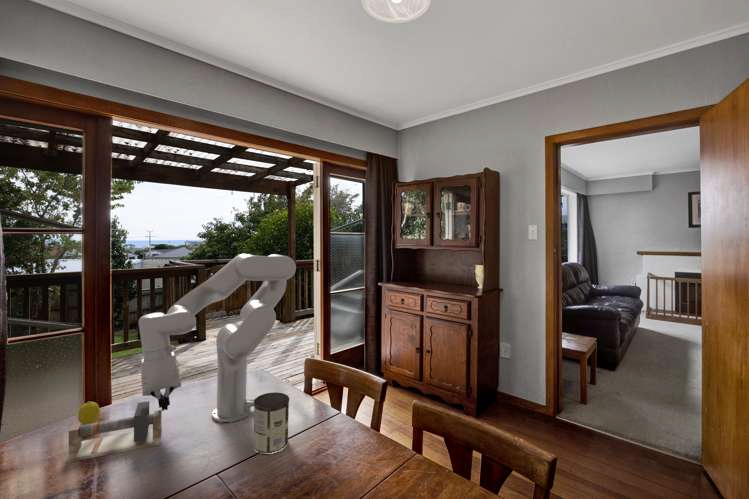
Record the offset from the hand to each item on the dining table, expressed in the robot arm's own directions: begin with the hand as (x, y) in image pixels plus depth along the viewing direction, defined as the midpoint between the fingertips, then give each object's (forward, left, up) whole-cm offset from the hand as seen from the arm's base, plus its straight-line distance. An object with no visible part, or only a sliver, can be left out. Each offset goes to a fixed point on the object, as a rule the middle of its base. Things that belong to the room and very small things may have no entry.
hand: (164, 408), depth 116 cm
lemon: (+22, -12, -8) cm, 26 cm away
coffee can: (-29, +21, -8) cm, 37 cm away
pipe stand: (+12, +3, -7) cm, 14 cm away
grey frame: (+6, +3, -5) cm, 8 cm away
